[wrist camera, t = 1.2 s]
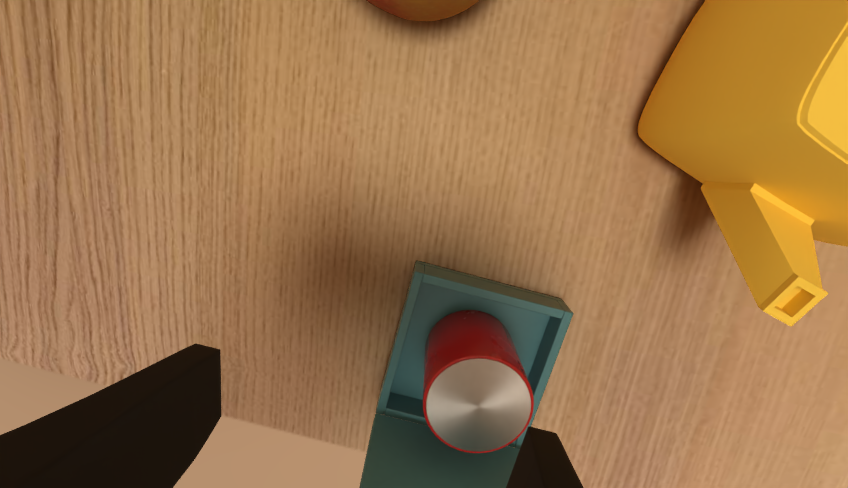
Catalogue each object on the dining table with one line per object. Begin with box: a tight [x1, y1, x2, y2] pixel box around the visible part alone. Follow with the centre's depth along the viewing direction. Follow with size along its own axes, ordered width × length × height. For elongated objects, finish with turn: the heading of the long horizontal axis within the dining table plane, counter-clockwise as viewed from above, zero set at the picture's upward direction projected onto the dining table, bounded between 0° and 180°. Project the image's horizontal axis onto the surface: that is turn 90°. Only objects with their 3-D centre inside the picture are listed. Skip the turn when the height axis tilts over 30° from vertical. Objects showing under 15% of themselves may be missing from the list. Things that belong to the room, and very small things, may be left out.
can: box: [423, 310, 534, 453], centre depth 23 cm, size 5×5×6 cm
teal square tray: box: [376, 261, 573, 449], centre depth 25 cm, size 9×9×2 cm
